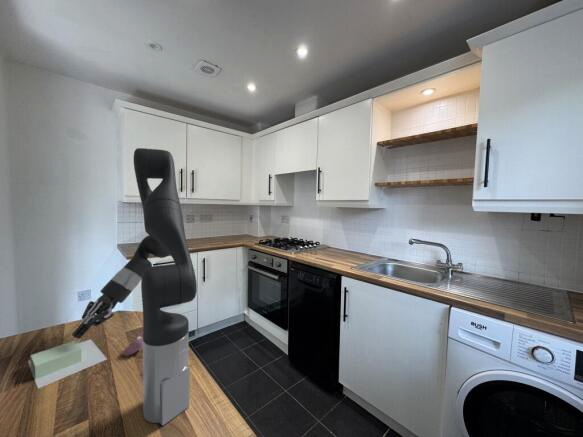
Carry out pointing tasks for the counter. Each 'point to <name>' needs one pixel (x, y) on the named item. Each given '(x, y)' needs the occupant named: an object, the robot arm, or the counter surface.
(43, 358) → the block
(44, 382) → the mat
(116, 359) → the counter surface
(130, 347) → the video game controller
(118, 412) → the counter surface
